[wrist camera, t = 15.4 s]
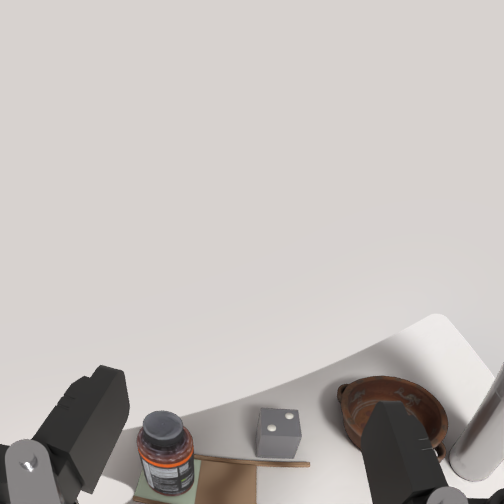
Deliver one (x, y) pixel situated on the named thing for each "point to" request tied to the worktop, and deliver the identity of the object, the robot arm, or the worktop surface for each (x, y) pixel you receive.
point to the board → (214, 482)
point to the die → (278, 433)
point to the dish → (392, 389)
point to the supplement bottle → (166, 453)
